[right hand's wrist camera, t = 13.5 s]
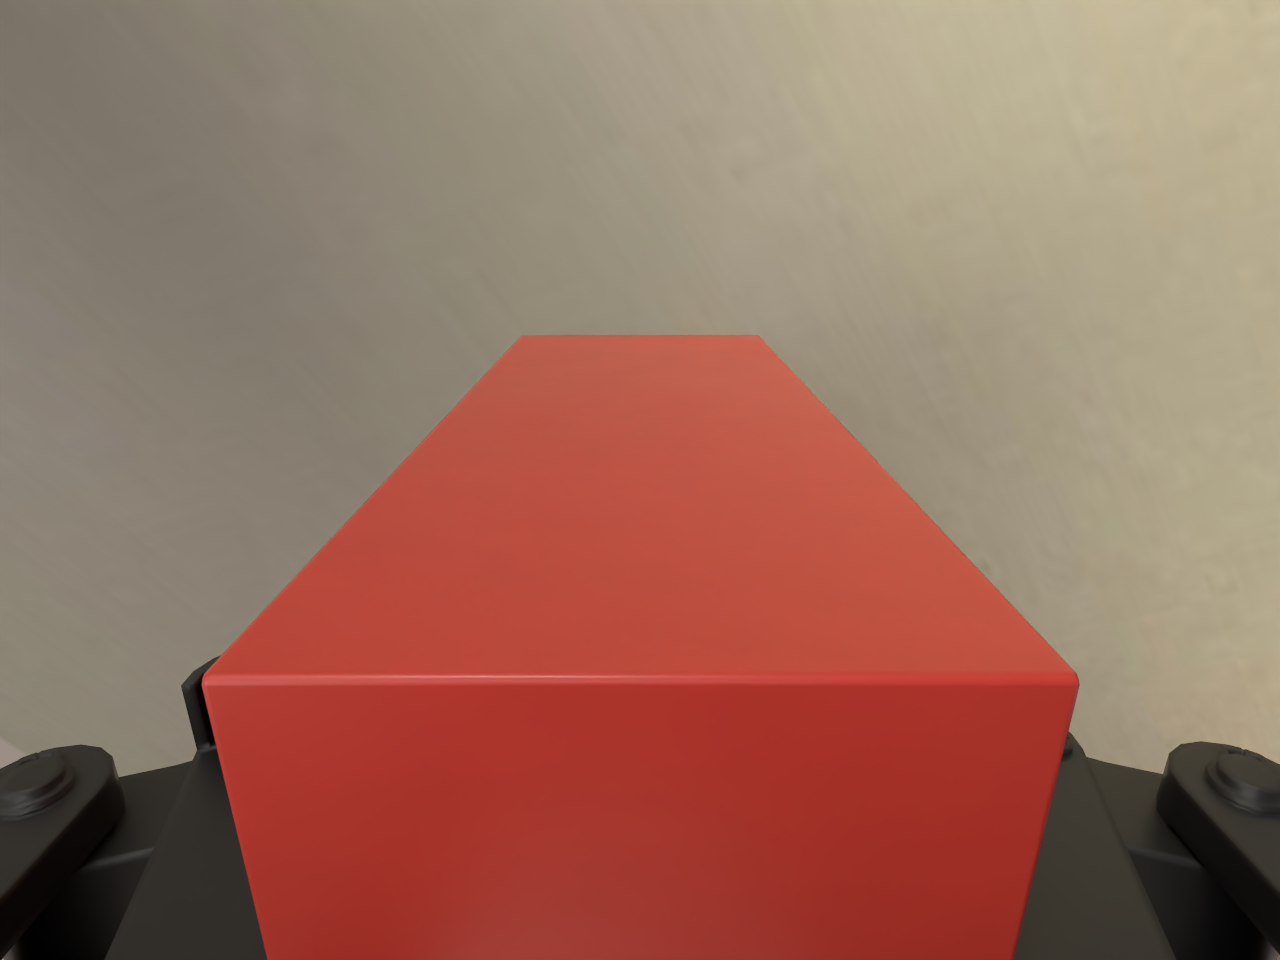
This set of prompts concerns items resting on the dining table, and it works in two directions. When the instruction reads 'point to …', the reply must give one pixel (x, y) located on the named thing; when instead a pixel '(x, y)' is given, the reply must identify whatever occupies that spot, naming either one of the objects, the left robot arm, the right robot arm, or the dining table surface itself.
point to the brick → (640, 689)
